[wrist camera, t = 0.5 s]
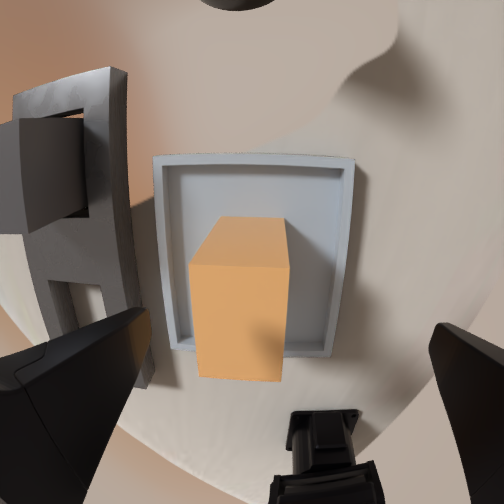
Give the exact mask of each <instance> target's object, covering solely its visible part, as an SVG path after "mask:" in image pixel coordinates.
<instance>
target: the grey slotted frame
mask: <svg viewBox="0 0 504 504" xmlns="http://www.w3.org/2000/svg"><path fill="white" fill-rule="evenodd" d="M126 104H127V72H125V71H122V70H119V69H117V68H114V67H111V66H109V67H104V68H100V69H96V70H92V71H88V72H84V73H81V74H76V75H73V76H70V77H66V78H63V79H59V80H56V81H53V82H50V83H47V84H44V85H41V86H38V87H35V88H32V89H29V90H27V91H24V92H21V93H19V94H16V95H14V96H13V120H15V119H19V118H62V117H67V116H71V115H76V114H81V113H84V155H85V173H86V187H87V198H88V208H89V210H78V211H76V212H74V213H72V214H70V215H67V216H65V217H63V218H61V219H59V220H57V221H55V222H52V223H50V224H48V225H46V226H44V227H42V228H40V229H38V230H36V231H34V232H32V233H30V234H22V236H23V241H24V246H25V251H26V256H27V261H28V265H29V269H30V274H31V278H32V282H33V285H34V289H35V293H36V297H37V300H38V303H39V307H40V310H41V313H42V317H43V320H44V323H45V326H46V329H47V332H48V335H49V338H50V340H52V339H54V338H57V337H59V336H62V335H64V334H67V333H69V332H72V331H75V330H77V329H79V325H78V322H77V318H76V315H75V311H74V307H73V303H72V299H71V295H70V291H69V287H68V283H67V282H73V283H83V284H93V285H100V287H101V292H102V297H103V301H104V306H105V311H106V315H107V317H110V316H112V315H115V314H117V313H120V312H122V311H125V310H127V309H130V308H132V307H136V306H137V307H142V301H141V295H140V289H139V282H138V275H137V267H136V260H135V252H134V243H133V234H132V223H131V212H130V200H129V185H128V165H127V125H126V124H127V123H126V122H127V121H126V120H127V119H126V117H127V116H126V114H127V112H126V110H127V109H126V108H127V105H126ZM154 372H155V369H154V364H153V359H152V355H151V350H150V345H148V348H147V351H146V354H145V357H144V360H143V363H142V366H141V369H140V372H139V375H138V378H137V380H136V382H135V384H134V386H133V387H136V388H141V389H147V387H148V384H149V382H150V380H151V378H152V376H153V374H154Z"/></svg>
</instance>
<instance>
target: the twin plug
mask: <svg viewBox="0 0 504 504" xmlns="http://www.w3.org/2000/svg"><path fill="white" fill-rule="evenodd" d="M85 207H88V198H87V187H86V173H85V155H84V118H19V119H15V120H12V121H9V122H7V123H4V124H1V125H0V234H30V233H32V232H34V231H36V230H38V229H40V228H42V227H44V226H46V225H48V224H50V223H52V222H55V221H57V220H59V219H61V218H63V217H65V216H67V215H70V214H72V213H74V212H76V211H78V210H81V209H83V208H85Z"/></svg>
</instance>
